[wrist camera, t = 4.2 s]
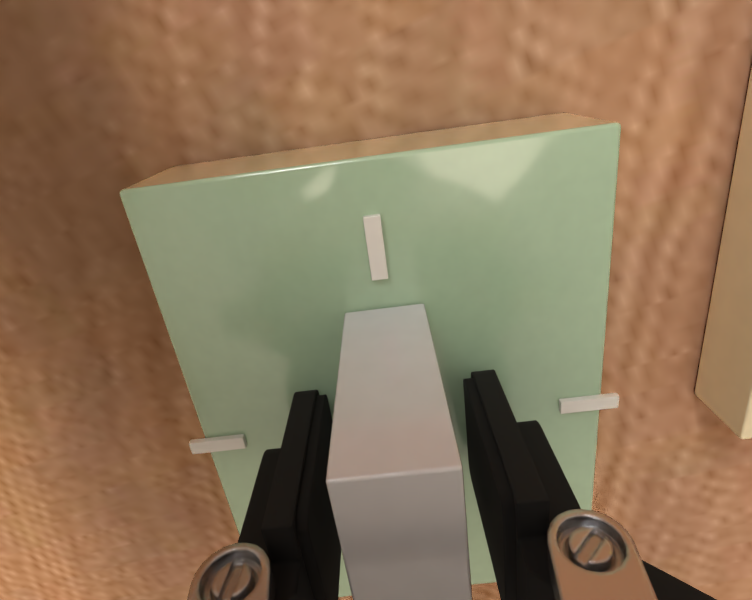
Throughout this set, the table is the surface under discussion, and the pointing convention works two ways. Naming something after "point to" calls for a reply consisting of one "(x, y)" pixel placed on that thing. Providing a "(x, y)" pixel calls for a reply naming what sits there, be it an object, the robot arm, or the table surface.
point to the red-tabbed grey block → (396, 463)
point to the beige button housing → (732, 301)
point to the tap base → (390, 280)
